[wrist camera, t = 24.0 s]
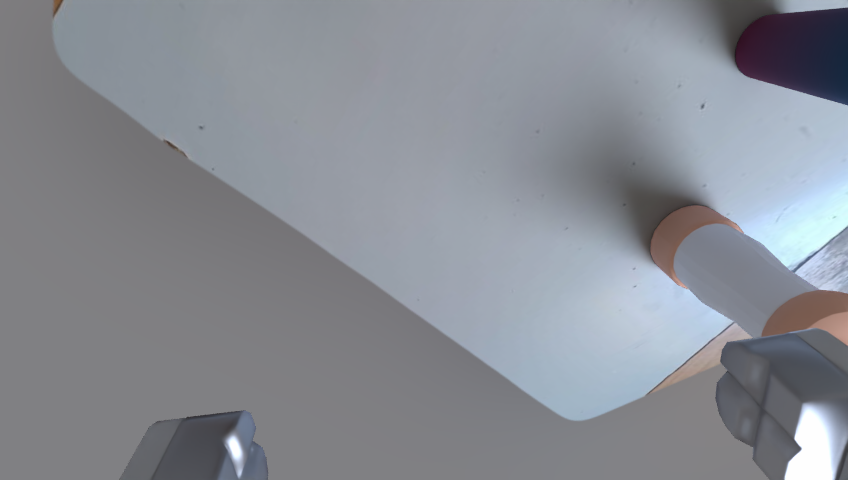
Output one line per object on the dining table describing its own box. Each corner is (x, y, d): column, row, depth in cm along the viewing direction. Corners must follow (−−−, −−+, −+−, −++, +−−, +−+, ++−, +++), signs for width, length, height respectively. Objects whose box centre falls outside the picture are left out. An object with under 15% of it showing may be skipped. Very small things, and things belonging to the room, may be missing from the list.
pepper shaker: (720, 194, 48) (913, 298, 31) (727, 260, 51) (905, 389, 33) (644, 219, 49) (791, 335, 31) (655, 283, 51) (794, 422, 34)
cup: (753, 106, 45) (914, 147, 31) (708, 51, 43) (861, 69, 29) (820, 43, 43) (1023, 57, 29) (777, -18, 41) (975, -33, 27)
